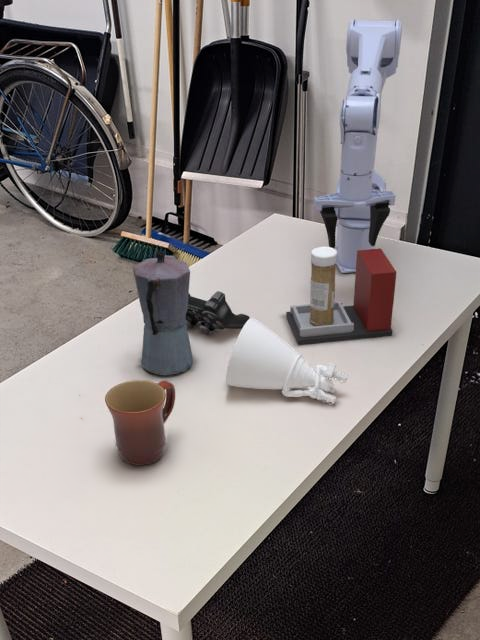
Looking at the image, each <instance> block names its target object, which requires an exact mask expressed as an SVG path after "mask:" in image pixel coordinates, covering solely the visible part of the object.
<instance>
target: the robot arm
mask: <svg viewBox="0 0 480 640" xmlns="http://www.w3.org/2000/svg"><path fill="white" fill-rule="evenodd" d="M346 31H347V32H346V46H345V47H346V48H345V50H346V61H347V62H346V66H347V67H348V73H349V74H350V76H349V81H348V86H347V91H346V98H345V99H344V98H342V101H341V102H340V103H341V104H340V110H339V129H340V145H341V150H340V151H341V153H340V170H339V171H340V172H339V177H338V180H337V181H336V187H335V192H334V193H329V194H325V195H319V196H314V198H313V199H314V200H313V204H314V205H313V208H314V210H315V212H319V213H320V215H321V218H322V220H323V223H324V227H325V230H326V234H327V240H328V241H327V242H328V247H331V248H334V249H335V250H336V251H337V263H336V267H337V268H338V270H339V271H340V273H341V274H348V273H349V274H350V273H351V274H352V273H356V260H357V250H368V249H375V246H376V243H377V240H378V237H379V235H380V231H381V229H382V228H383V225H384V224H385V222H386V220H387V219H388V217H389V216H390V213H391V208H390V206H391V207H392V206H395V205H396V193H395V192H394V190H386V189H387V182H386V180H385V178H384V177H383V176H382V175H380V174H379V173H378V172H377V171H376V170H375V162H376V161H375V160H376V151H377V141H378V132H379V127H380V121H381V111H382V110H381V109H382V103H381V102H382V101H381V100H382V92H383V90H384V86H385V84H386V81H387V79H388V78H389V77H392V76H393V75H396V73H397V68H398V67H399V57H400V53H401V43H402V32H403V22H401V19H396V20H374V19H373V20H372V19H371V20H370V19H369V20H367V19H355V18H351V19H350V21H349V22H348V25H347V30H346Z"/></svg>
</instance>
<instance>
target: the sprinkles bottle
mask: <svg viewBox="0 0 480 640" xmlns="http://www.w3.org/2000/svg"><path fill="white" fill-rule="evenodd" d="M336 263H337V251H336V248H335V249H334V248H331V247H329V246H318V247H314V248H313V249H312V250H311V252H310V264H311V270H310V271H311V273H310V274H311V275H310V294H309V295H310V297H309V304H310V319H309V320H310V323H311V324H313V325H315V326H325V325H331V324H332V323H333V321H334V317H333V315H334V302H335V300H336V299H335V298H336V297H335V295H336V269H337V268H336V267H337V264H336Z"/></svg>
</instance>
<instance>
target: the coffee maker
mask: <svg viewBox="0 0 480 640" xmlns="http://www.w3.org/2000/svg"><path fill="white" fill-rule="evenodd" d="M354 276H355V277H354V290H353V294H354V295H353V304H352V305H343V301H342V300H336V301H334V315H333V317H334V321H333V323H332V324H331V325H325V326H315V325H313V324H311V323H310V320H309V319H310V303H306V304H296V305H289V306H290V307H289V308H290V309H289V310H290V311H286V312H285V317H286V320H287V321H288V325H289V327H290V329H291V332H292V335H293V336H294V339H295V341H296V344H297V346H303V345H304V346H305V345H312V344H314V345H315V344H324V343H333V342H334V343H335V342H342V341H352V340H353V341H354V340H364V339H373V338H374V339H375V338H383V337H393V329H392V320H393V311H394V310H393V309H394V301H395V291H396V282H397V281H396V280H397V270H396V269H395V267H394V266H393V265H392V263H391V262H390V260H389V258H388V257H387V255H386V254H385V252H384V251H383V249H382V248H374V249H368V250H357V260H356V272H355V275H354Z"/></svg>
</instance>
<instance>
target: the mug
mask: <svg viewBox="0 0 480 640" xmlns="http://www.w3.org/2000/svg"><path fill="white" fill-rule="evenodd" d="M175 401H176V388H175V385H174V384H173V383H172V382H171V381H167V380H161V381H159V382H154V381H151V380H143V379H142V380H141V379H135V380H128V381H124V382H121V383H118V384H116V385H114V386H113V387H111V388H110V389H109V390H108V391H107V392H106V393H105V396H104V402H105V405H106V407H107V409H108V411H109V412H110V415H111V417H112V421H113V429H114V430H113V431H114V439H115V446H116V449H117V452H118V454H119V457H120V459H122V460H123V461H124V462H126V463H128V464H131V465H136V466H144V465H145V466H146V465H150V464H152V463H155V462H156V461H158V460H159V459H161V458H162V457H163V456H164V454H165V451H166V445H167V442H166V441H167V437H166V430H165V424H166V422H167V421H168V420H169V417H170V416H171V414H172V413H173V409H174V406H175V403H176V402H175Z"/></svg>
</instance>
